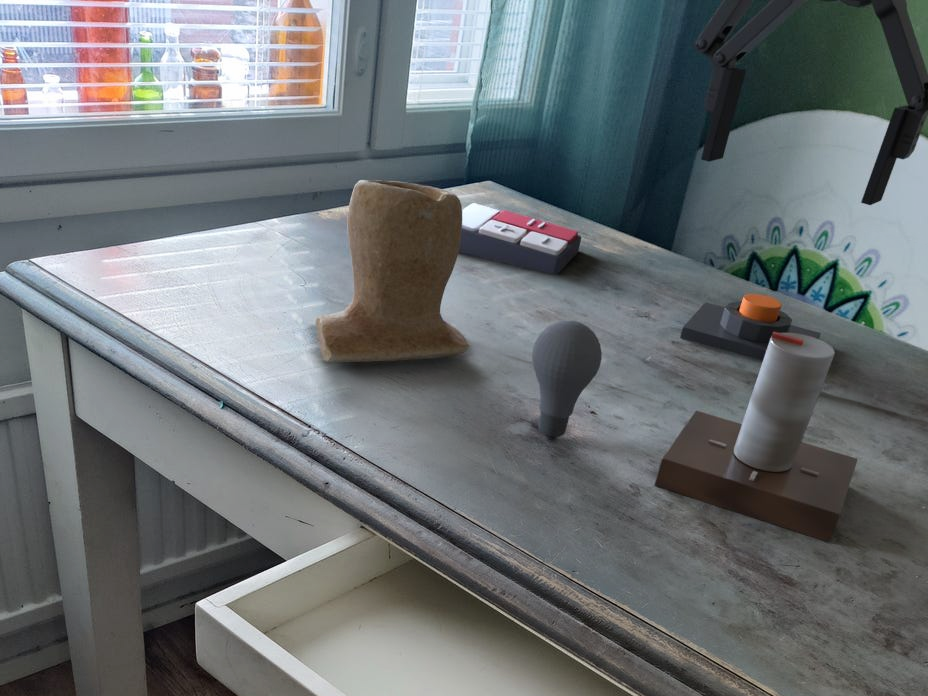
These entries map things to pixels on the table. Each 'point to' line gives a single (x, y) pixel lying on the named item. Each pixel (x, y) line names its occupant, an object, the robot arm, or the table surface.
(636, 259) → the table surface
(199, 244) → the table surface
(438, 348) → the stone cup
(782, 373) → the dial
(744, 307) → the plunger
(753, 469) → the dial panel
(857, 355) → the table surface
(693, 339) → the button block
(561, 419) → the light bulb
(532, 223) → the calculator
